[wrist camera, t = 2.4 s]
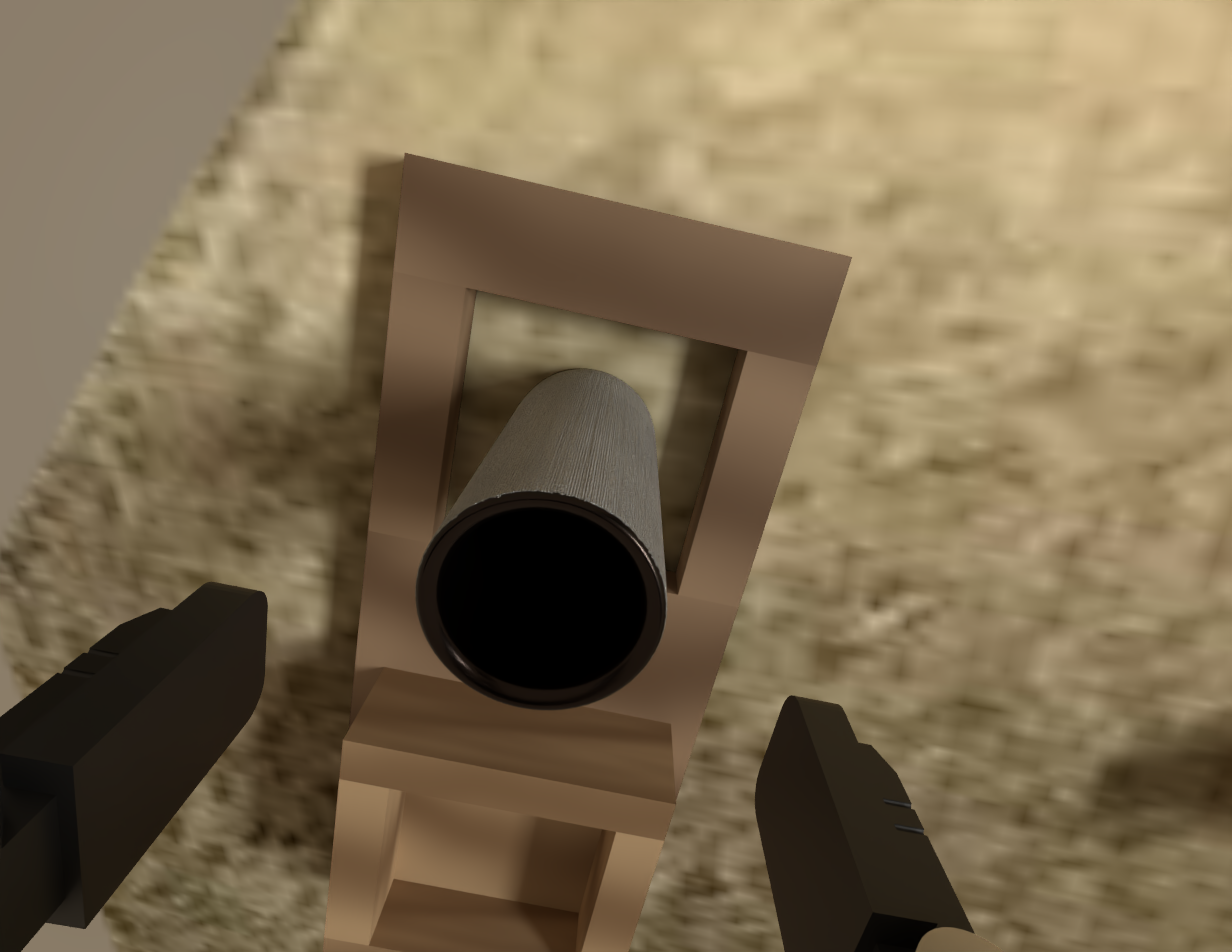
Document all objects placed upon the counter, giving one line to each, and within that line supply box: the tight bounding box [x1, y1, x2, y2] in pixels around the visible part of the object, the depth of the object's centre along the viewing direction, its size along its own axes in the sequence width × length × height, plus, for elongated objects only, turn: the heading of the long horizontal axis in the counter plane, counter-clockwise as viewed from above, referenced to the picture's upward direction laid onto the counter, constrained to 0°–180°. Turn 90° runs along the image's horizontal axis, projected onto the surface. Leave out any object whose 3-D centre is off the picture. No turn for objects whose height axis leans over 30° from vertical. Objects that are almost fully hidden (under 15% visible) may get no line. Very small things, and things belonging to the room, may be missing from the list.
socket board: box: [323, 153, 852, 952], centre depth 22 cm, size 28×12×5 cm, turn 168°
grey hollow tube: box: [415, 369, 667, 711], centre depth 17 cm, size 4×4×10 cm
